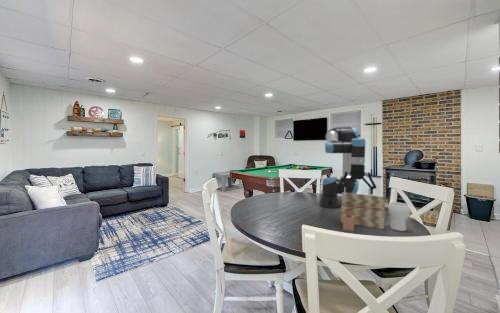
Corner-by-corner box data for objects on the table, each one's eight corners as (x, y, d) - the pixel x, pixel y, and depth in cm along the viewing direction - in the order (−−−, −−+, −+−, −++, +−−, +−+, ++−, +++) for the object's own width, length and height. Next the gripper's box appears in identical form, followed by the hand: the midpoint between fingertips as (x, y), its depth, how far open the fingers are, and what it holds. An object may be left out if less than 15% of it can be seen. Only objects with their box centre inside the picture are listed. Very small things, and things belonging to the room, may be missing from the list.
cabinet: (342, 229, 128) (343, 214, 128) (344, 223, 137) (344, 209, 137) (353, 231, 126) (354, 216, 125) (354, 225, 135) (354, 211, 134)
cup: (400, 224, 135) (401, 201, 134) (413, 232, 124) (414, 206, 123) (383, 225, 135) (384, 201, 134) (395, 232, 124) (396, 207, 123)
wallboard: (340, 222, 140) (341, 193, 138) (341, 220, 144) (342, 192, 143) (383, 229, 128) (385, 198, 127) (383, 226, 133) (384, 196, 131)
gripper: (335, 163, 130) (334, 198, 131) (382, 165, 120) (381, 202, 122) (335, 162, 137) (334, 195, 138) (380, 164, 127) (379, 199, 128)
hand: (356, 198), depth 130 cm, fingers open, 13 cm apart
